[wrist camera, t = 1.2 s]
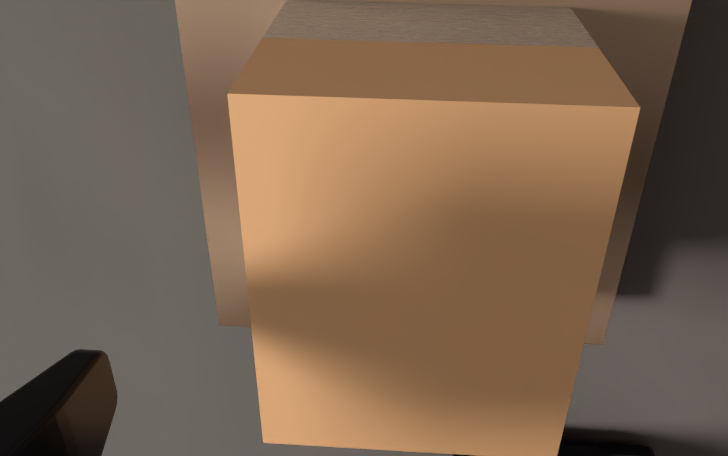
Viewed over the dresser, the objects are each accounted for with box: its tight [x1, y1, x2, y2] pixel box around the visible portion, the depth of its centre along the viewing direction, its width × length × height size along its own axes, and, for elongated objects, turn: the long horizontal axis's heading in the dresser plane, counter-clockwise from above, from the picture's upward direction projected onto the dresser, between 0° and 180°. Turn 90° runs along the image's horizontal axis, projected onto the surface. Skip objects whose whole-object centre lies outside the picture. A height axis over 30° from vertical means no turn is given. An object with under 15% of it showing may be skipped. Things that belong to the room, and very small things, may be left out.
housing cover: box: [227, 38, 640, 456], centre depth 12 cm, size 7×6×2 cm
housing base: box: [263, 0, 599, 48], centre depth 14 cm, size 7×6×2 cm
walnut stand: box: [175, 0, 692, 345], centre depth 16 cm, size 10×10×2 cm
